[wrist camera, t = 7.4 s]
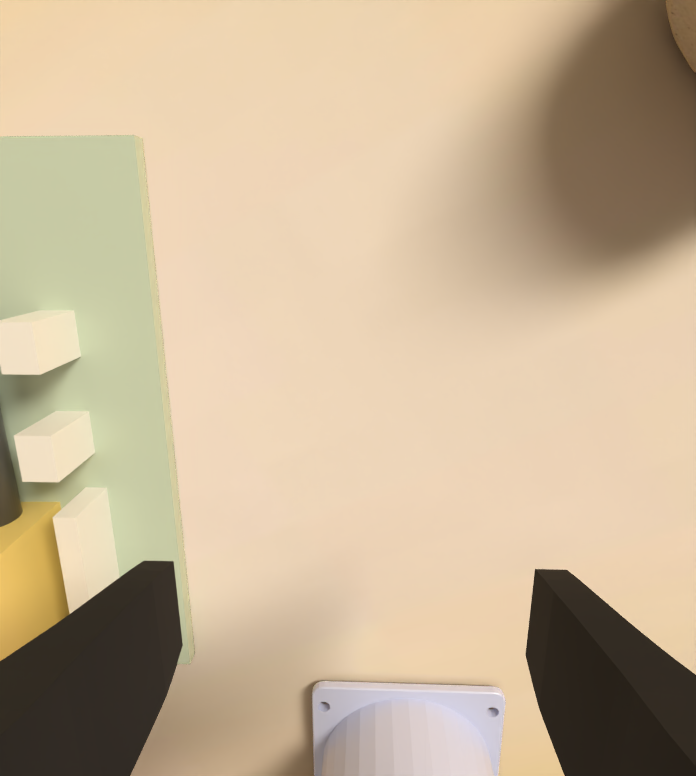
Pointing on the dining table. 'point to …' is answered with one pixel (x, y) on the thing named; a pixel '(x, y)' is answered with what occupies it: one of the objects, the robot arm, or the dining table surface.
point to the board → (88, 359)
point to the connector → (26, 562)
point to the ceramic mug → (684, 27)
